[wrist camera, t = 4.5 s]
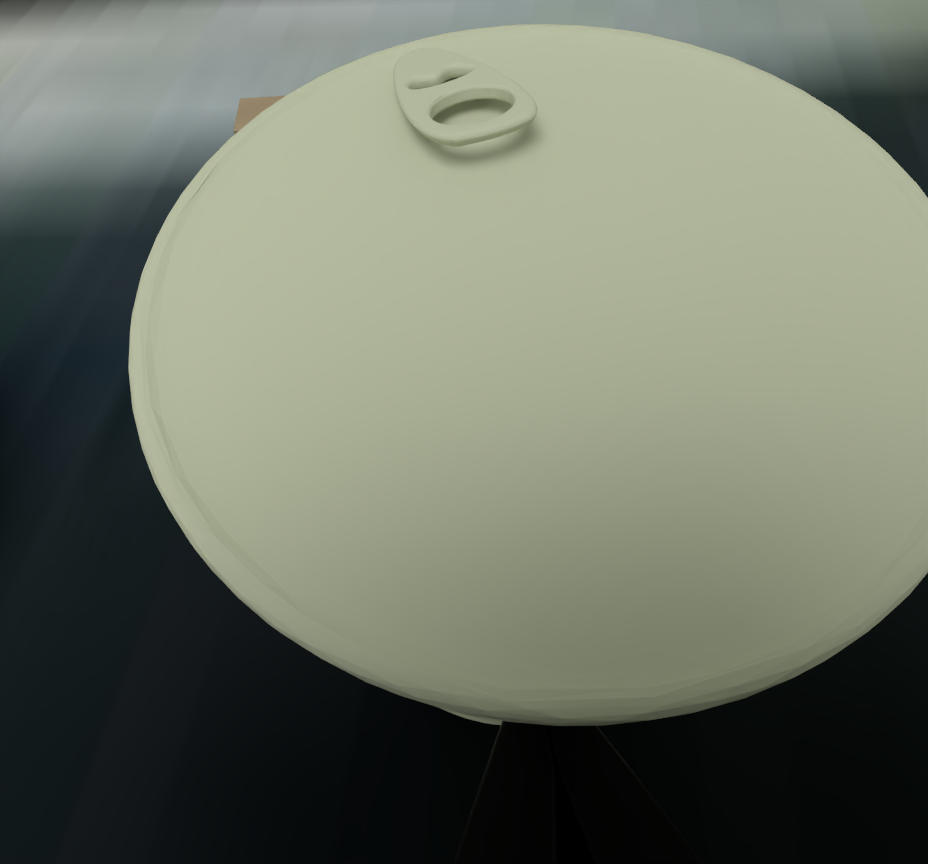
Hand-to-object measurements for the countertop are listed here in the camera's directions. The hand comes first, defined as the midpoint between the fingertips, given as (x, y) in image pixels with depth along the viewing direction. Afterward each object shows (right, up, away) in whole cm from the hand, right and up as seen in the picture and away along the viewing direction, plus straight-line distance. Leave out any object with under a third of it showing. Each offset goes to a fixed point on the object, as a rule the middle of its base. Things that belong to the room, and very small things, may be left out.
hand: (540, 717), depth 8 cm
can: (0, +1, +9) cm, 9 cm away
